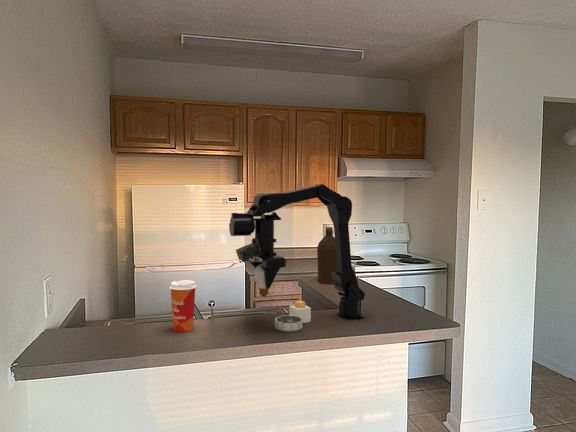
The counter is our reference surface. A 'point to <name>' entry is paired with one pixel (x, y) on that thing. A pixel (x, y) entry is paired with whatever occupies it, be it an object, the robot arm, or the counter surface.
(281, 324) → the grey round shallow bowl
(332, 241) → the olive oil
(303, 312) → the white jar
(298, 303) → the breaker button
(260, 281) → the light bulb
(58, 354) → the counter surface
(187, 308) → the paper cup
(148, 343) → the counter surface
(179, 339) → the counter surface
